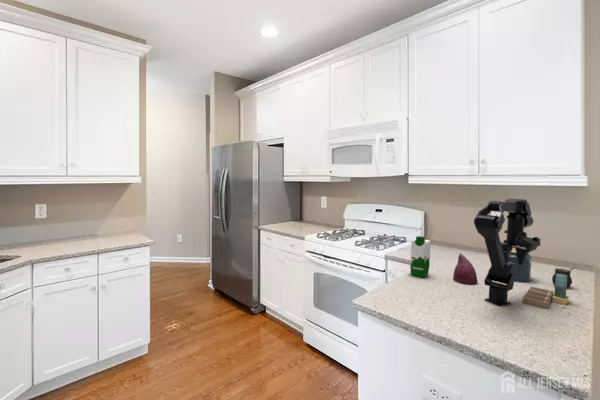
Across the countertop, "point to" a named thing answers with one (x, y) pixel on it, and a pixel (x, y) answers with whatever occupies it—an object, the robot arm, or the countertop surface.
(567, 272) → the mate gourd
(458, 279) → the vegetable
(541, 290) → the board
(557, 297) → the teal column with base
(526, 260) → the canister
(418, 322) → the countertop surface
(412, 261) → the milk carton
